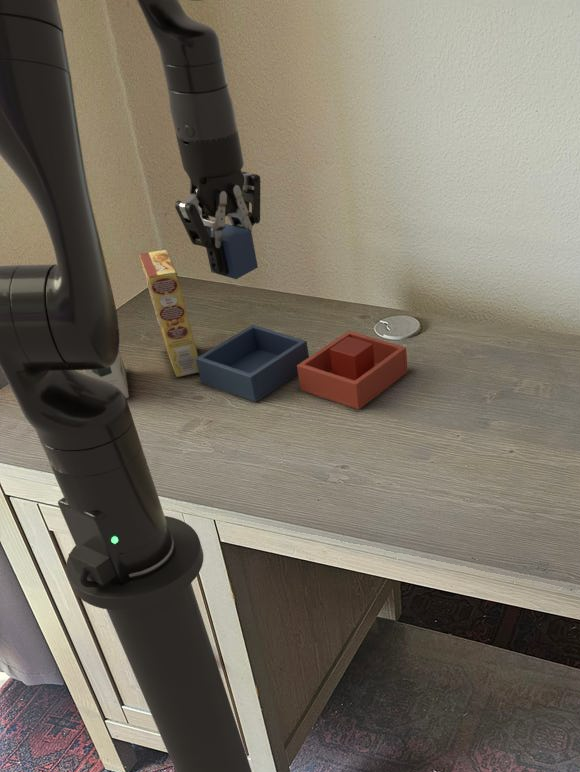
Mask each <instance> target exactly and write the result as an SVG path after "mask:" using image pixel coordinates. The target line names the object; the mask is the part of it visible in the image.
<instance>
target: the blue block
mask: <svg viewBox="0 0 580 772" xmlns="http://www.w3.org/2000/svg"><path fill="white" fill-rule="evenodd" d="M211 236H212V237H213V229H211ZM222 247H224V252H225V257H226V261H227V266H228V271H229V273H228V274H226V275H224V276H223V277H227V278H230V279H233V280H238V279H240V278H242V277H244V276H246V275H247V274H249V273H251V272H252V271H254V270H256V269H258V268H259V266H258V260H257V255H256V250H255V244H254V239H253V233H252V231H251V230H248V229H244V228H240V227H236V226H232V224H228V223H225V228H224V229H223V230H222ZM205 249H206V251H207V248H206V247H205ZM206 254H207V259H208V260H209V257H208V253H207V252H206ZM208 263H209V267H210V272H211V273H213V274H216V273H215V272H214V271H213V270H212V268H211V266H210V262H209V261H208ZM218 275H219V276H221V275H220V274H218Z"/></svg>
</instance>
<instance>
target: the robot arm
mask: <svg viewBox="0 0 580 772" xmlns="http://www.w3.org/2000/svg"><path fill="white" fill-rule="evenodd" d="M136 1H137V3H138V5H139V8H140V10H141V12H142V15H143V17H144V19H145V21H146V23H147V26H148V28H149V30H150V32H151V34H152V36H153V38H154V41H155V43H156V45H157V48H158V51H159V56H160V61H161V64H162V69H163V74H164V78H165V82H166V83H165V84H166V87H167V93H168V101H169V109H170V110H169V111H170V115H171V119H172V124H173V128H174V132H175V137H176V143H177V146H178V150H179V156H180V160H181V165H182V169H183V170H184V172H185V173H186V175H187V176H188V178H189V181H190V183H189V184H190V187H189V196H188V197H186V198H185V199H184V200H176V201H175V203H174V207H175V210H176V213H177V214H178V216H179V218H180V221H181V223H182V225H183V227H184V229H185V231H186V234H187V235H188V238H189V239H190V240H189V241H191V244H192V245H195V246H200V247H203V248H205V249H206V248H207V250H206V254H207V253H208V255H207V258H208V257H209V259H208V263H209V262H210V264H209V267H210V266H211V268H212V270H213V271H214V272H215V273H214V274H215V275H219V274H220V275H219V276H222V277H225V276H224V275H226V274H228V273H229V271H228V266H227V261H226V257H225V252H224V247H222V230H223V229H224V228H225V224H226V217H228V219H229V221H230V223H231V225H232V226H236V227H240V228H244V229H248V230H251V232H252V231H253V227H254V225H256V224H259V223H260V221H261V177H260V175H259V174H256V173H251V172H247V171H242V169H243V167H244V163H245V162H244V157H243V152H242V146H241V141H240V136H239V130H238V123H237V119H236V112H235V107H234V102H233V99H232V96H231V93H230V89H229V86H228V80H227V75H226V69H225V64H224V58H223V52H222V47H221V42H220V39H219V36H218V34H217V32H216V30H215V29H214V28H212V27H211V26H209V25H206V24H204V23H202V22H200V21H197V20H195V19H193V18H191V17H190V16H189V15H188V14H187V13H186V11H185V10H184V8H183V6H182V5H181V3H180V0H136ZM190 1H191V2H192V1H193V2H201V1H203V0H190ZM0 157H1V158H2V160H4V162H5V163H6V164H7V166H8V167H9V168H10V169H11V170H12V171H13V173H14V174H15V176H16V177H17V178H18V179H19V181H20V182H21V183H22V186H24V188H25V190H26V191H27V192H28V193H29V195H30V196H31V199H32V200H33V201H34V204H35V205H36V207H37V209H38V211H39V212H40V215H41V217H42V219H43V222H44V224H45V227H46V229H47V232H48V235H49V238H50V241H51V243H52V247H53V250H54V255H55V259H56V264H55V263H54V264H53V263H52V264H14V265H13V264H11V265H0V370H1V371H2V373H3V375H4V378H5V379H6V381H7V383H8V385H9V387H10V389H11V391H12V393H13V395H14V398H15V400H16V402H17V404H18V406H19V408H20V410H21V412H22V414H23V416H24V417H25V419H26V420H27V422H28V423H29V424H30V425H31V426H32V428H33V429H34V430H35V432H36V435H37V437H38V439H39V442H40V444H41V446H42V449H43V451H44V454H45V456H46V458H47V460H48V463H49V466H50V468H51V470H52V472H53V476H54V477H55V480H56V482H57V484H58V487H59V489H60V492H61V494H62V498H60V499H59V500H58V501H57V505H58V507H59V510H60V512H61V514H62V517H63V519H64V522H65V524H66V526H67V528H68V532H69V534H70V535H71V537H72V540H73V542H74V544H75V545H74V546H76V547H77V549H75V550H74V551H72V550H71V551H72V552H71V551H70V552H69V553H68V554H67V555H68V557H70V560H71V562H72V564H73V566H74V569H75V571H76V572H77V573H79V574H81V575H80V582H81V584H82V585H83V586H85V587H98V586H99V584H101V585H105V584H106V583H107V582H109V581H110V580H111V581H113V582H115V583H117V584H119V585H125V584H126V583H128V582H129V581H131V580H135V579H140V578H143V577H146V576H149V575H151V574H153V573H155V572H157V571H159V570H160V569H162V568H163V567H164V566H165V565H166V564H167V563H168V562H169V561H170V560H171V559H172V557H173V555H174V552H175V543H174V540H173V537H172V535H171V533H170V531H169V527H168V525H167V522H166V518H165V516H166V515H165V513H164V510H163V507H162V503H161V500H160V498H159V495H158V491H157V489H156V484H155V482H154V479H153V476H152V473H151V470H150V467H149V464H148V461H147V458H146V455H145V451H144V449H143V445H142V443H141V440H140V437H139V434H138V429H137V427H136V425H135V420H134V419H133V415H132V412H131V409H130V405H129V403H128V400H127V398H125V396H124V394H123V393H122V392H121V391H120V390H119V389H118V388H117V387H115V386H114V385H112V384H110V383H108V382H105V381H102V380H99V379H96V378H93V377H90V376H87V375H85V374H84V373H82V372H80V371H83V370H94V369H104V368H108V367H110V366H111V365H113V364H114V362H115V360H116V358H117V355H118V352H119V351H120V327H119V318H118V313H117V307H116V301H115V298H114V293H113V288H112V284H111V279H110V276H109V272H108V268H107V262H106V259H105V255H104V250H103V245H102V242H101V238H100V234H99V230H98V226H97V225H98V224H97V221H96V216H95V213H94V209H93V204H92V199H91V195H90V189H89V184H88V178H87V173H86V169H85V163H84V157H83V149H82V143H81V137H80V131H79V125H78V116H77V111H76V103H75V95H74V87H73V80H72V74H71V68H70V62H69V57H68V50H67V45H66V39H65V34H64V28H63V22H62V18H61V13H60V7H59V3H58V0H0ZM250 205H251V211H250ZM210 217H212V218H215V220H214V219H211V218H210ZM212 230H213V237H212V236H211V231H212ZM211 268H210V269H211ZM87 578H89V579H91V580H93V581H88V580H87Z"/></svg>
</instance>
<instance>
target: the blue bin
mask: <svg viewBox="0 0 580 772" xmlns="http://www.w3.org/2000/svg"><path fill="white" fill-rule="evenodd" d="M308 347H309V346H308V341H307V340H304V339H301V338H299V337H294V336H291V335H288V334H285V333H283V332H282V333H281V332H279V331H275V330H272V329H269V328H266V327H263V326H259V325H256V324H250V325H249V326H248V327H246V328H244V329H243V330H240V331H239V332H238V333H236V334H234V335H232V336H231V337H229V338H228V339H225V340H224V341H222V342H221V343H219V344H217V345H215V346H213V347H212V348H210V349H209V350H207V351H205V352H203V353H202V354H201V355H198V357H197V358H196V363H197V367H198V371H199V373H198V375H199V378H200V382H201V384H203V385H206V386H209V387H211V388H213V389H217V390H220V391H222V392H225V393H228V394H231V395H234V396H237V397H240V398H243V399H245V400H248V401H250V402H253V403H257V402H258V401H260V400H261V399H263V398H264V397H266V396H267V395H269V394H271V393H272V392H274V391H275V390H276V389H278V388H279V387H280V386H283V385H284V384H285V383H287V382H288V381H290V380H291V379H292V378H294V377H296V376H297V375H298V369H297V365H298V364H300V363H301V362H303V361H304V360H306V359H307V358H309V357H310V356H309V355H310V354H309V348H308Z"/></svg>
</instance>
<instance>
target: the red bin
mask: <svg viewBox="0 0 580 772" xmlns="http://www.w3.org/2000/svg"><path fill="white" fill-rule="evenodd" d="M347 337H351V338H355V339H358V340H361V341H365V342H368V343H371V344H373V352H374V363H375V366H374V367H373V368H372V369H370V370H369V371H368V372H366V373H365V374H363V375H362V376H361V377H359V378H358V379H357V380H355V381H354V380H351V379H348V378H345V377H341V376H338V375H335V374H333V370H332V362H331V355H330V349H331V348H332V347H333V346H335V345H336V344H338V343H339V342H341V341H342V340H344V339H345V338H347ZM407 356H408V355H407V347H405V346H403V345H399V344H396V343H392V342H388V341H385V340H382V339H380V338H379V339H378V338H376V337H373V336H368V335H365V334H362V333H359V332H356V331H352V330H348V331H346V332H345V333H343V334H341V335H340V336H338V337H337V338H335V339H334V340H332V341H331V342H329V343H328V344H326V345H325V346H323V347H322V348H321V349H319V350H317V351H316V352H314V353H313V354H311V355H310V356H309V358H307V359H306V360H304V361H303V362H301V363H300V364H298V365H297V369H298V374H297V375H298V381H299V387H300V391H302V392H305V393H308V394H311V395H314V396H317V397H320V398H323V399H326V400H329V401H332V402H335V403H337V404H340V405H344V406H346V407H350V408H351V409H352V408H353V409H356V410H361V409H362V408H363V407H365V406H366V405H367V404H368V403H370V402H371V401H372V400H373V399H375V398H376V397H378V396H379V395H380V394H381V393H382V392H384V391H385V390H387V389H388V388H389V387H391V386H392V385H393V384H394V383H396V381H398V380H400V379H402V377H403V376H405V375H406V374H407V373H408V372H409V370H408V357H407Z"/></svg>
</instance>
